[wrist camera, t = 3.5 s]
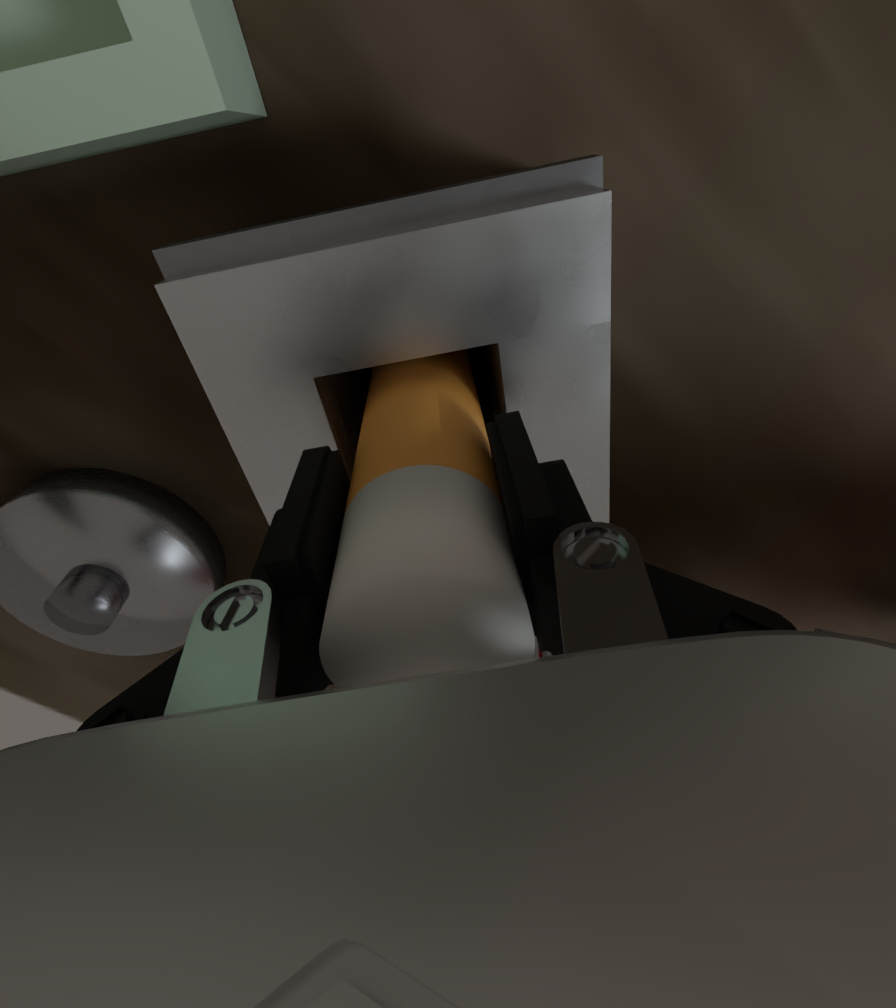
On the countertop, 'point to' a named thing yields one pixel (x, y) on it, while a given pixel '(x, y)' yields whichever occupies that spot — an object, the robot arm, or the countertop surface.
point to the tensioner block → (407, 316)
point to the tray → (117, 76)
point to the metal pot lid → (106, 562)
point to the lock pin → (423, 537)
